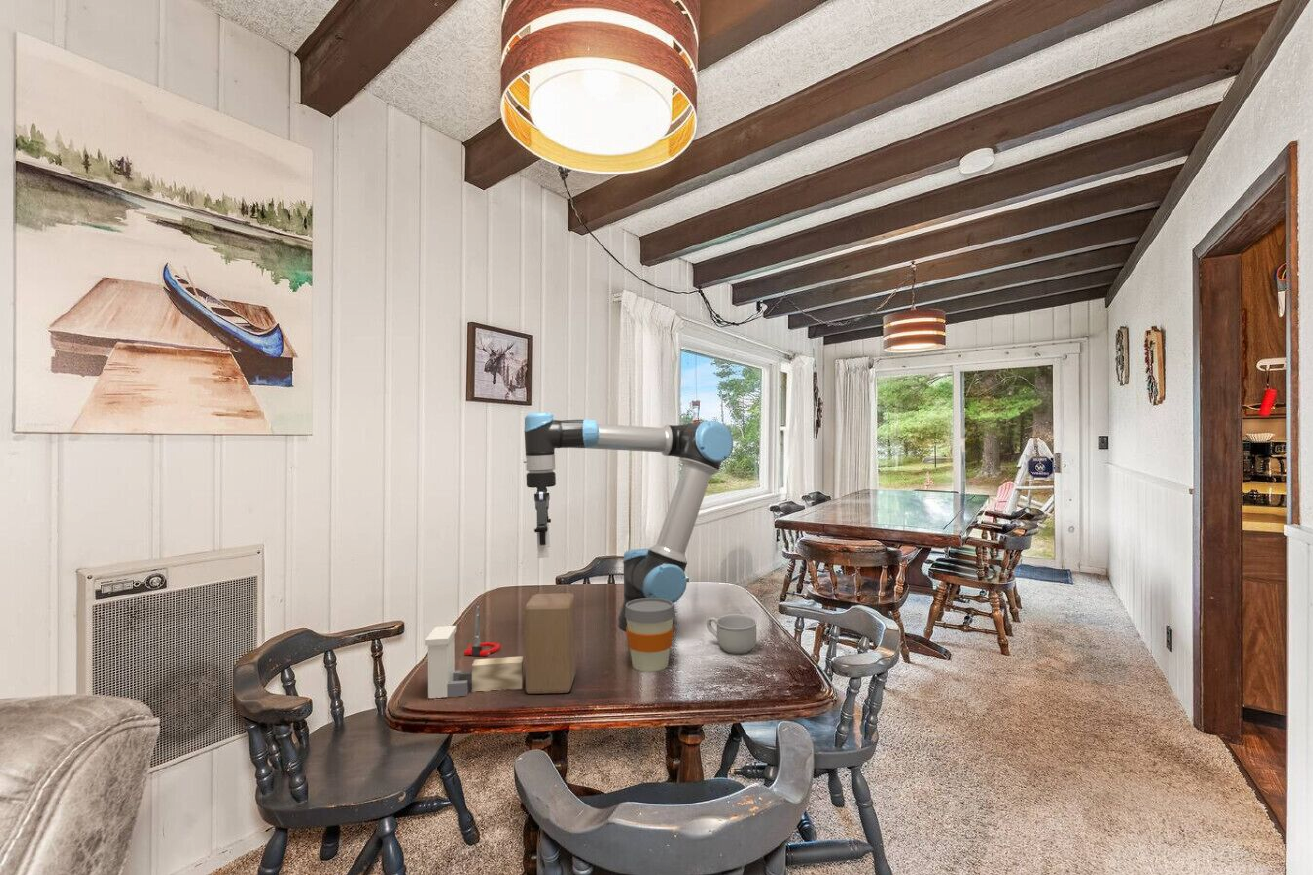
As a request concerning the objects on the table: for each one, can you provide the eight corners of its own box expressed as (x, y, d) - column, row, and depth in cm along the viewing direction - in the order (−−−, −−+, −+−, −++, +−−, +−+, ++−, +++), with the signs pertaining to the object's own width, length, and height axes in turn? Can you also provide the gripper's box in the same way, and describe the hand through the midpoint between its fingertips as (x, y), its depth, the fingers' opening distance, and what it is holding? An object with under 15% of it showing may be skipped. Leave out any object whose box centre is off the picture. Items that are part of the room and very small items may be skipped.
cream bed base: (472, 681, 132) (472, 624, 132) (465, 697, 123) (465, 637, 123) (435, 683, 131) (435, 626, 131) (425, 700, 122) (425, 639, 122)
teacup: (764, 649, 150) (764, 619, 150) (741, 661, 142) (741, 629, 142) (722, 637, 159) (722, 609, 159) (698, 647, 151) (698, 618, 152)
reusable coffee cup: (618, 659, 144) (617, 601, 144) (663, 652, 149) (662, 595, 149) (636, 678, 132) (635, 614, 132) (684, 669, 137) (683, 607, 137)
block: (575, 675, 134) (574, 592, 134) (570, 694, 124) (569, 603, 124) (533, 676, 134) (533, 592, 134) (524, 695, 124) (524, 604, 124)
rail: (523, 681, 131) (523, 656, 131) (522, 688, 127) (521, 662, 127) (461, 686, 129) (461, 660, 129) (458, 693, 125) (457, 666, 125)
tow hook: (476, 645, 157) (460, 656, 148) (477, 598, 158) (461, 606, 148) (505, 646, 156) (490, 657, 146) (506, 599, 156) (491, 607, 147)
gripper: (528, 470, 159) (531, 544, 159) (523, 475, 135) (526, 563, 135) (555, 468, 160) (558, 542, 160) (555, 473, 136) (558, 560, 136)
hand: (543, 552), depth 147 cm, fingers open, 13 cm apart
